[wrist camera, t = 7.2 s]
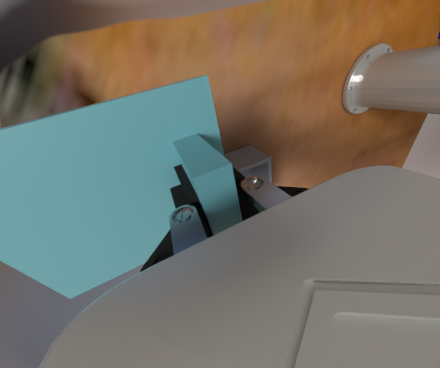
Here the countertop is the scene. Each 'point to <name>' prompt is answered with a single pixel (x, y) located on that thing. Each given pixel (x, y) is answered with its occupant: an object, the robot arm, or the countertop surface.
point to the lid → (109, 183)
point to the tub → (251, 162)
